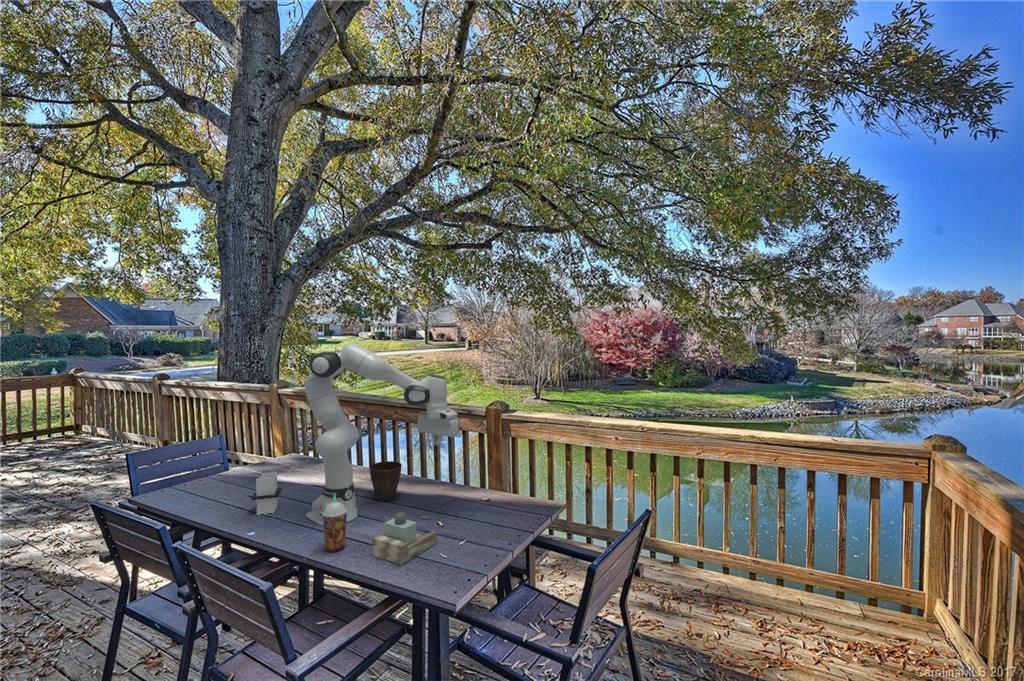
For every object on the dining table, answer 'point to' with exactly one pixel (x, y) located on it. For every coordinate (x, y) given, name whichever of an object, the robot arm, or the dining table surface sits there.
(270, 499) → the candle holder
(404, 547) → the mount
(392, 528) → the slider
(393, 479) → the plant pot
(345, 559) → the dining table surface
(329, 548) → the smoothie
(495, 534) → the dining table surface
